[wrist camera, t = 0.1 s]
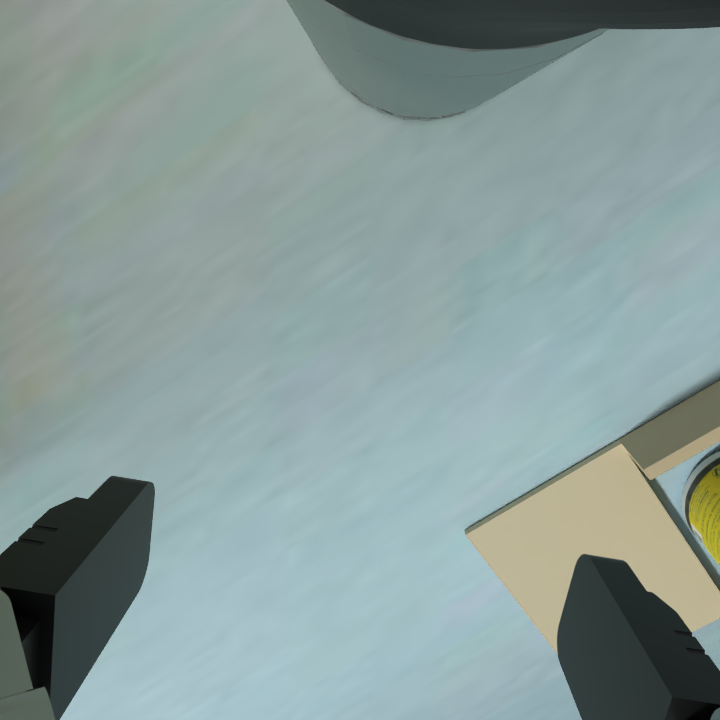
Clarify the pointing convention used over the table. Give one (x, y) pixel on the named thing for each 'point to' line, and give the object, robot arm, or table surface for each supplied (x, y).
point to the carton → (607, 522)
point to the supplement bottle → (704, 504)
